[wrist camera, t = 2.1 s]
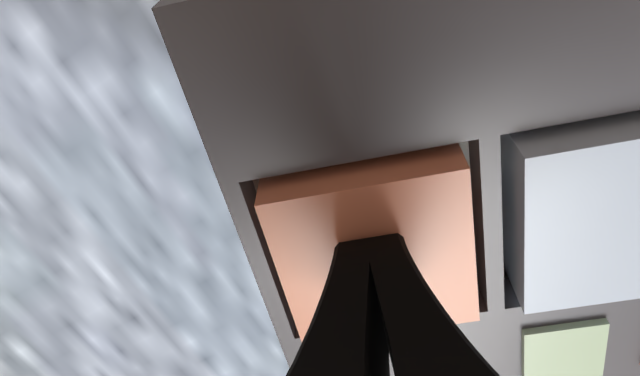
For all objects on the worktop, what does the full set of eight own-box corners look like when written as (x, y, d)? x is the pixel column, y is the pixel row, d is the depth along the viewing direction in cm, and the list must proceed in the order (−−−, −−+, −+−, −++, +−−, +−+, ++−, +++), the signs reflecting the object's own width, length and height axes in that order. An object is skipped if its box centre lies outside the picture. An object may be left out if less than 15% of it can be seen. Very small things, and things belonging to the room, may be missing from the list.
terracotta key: (445, 114, 12) (470, 168, 10) (458, 255, 14) (479, 320, 12) (264, 149, 12) (254, 206, 10) (305, 278, 14) (302, 345, 12)
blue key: (692, 69, 11) (771, 116, 9) (663, 223, 13) (720, 287, 11) (491, 106, 11) (524, 158, 10) (496, 248, 14) (524, 314, 12)
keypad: (959, -220, 10) (1344, -261, 6) (791, 236, 17) (933, 354, 13) (203, -42, 12) (147, 11, 8) (312, 307, 19) (310, 428, 15)
